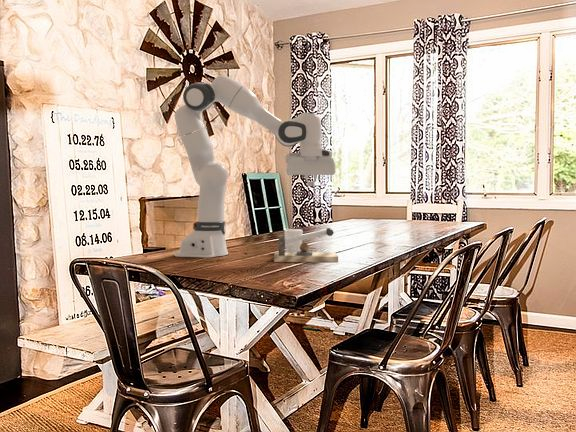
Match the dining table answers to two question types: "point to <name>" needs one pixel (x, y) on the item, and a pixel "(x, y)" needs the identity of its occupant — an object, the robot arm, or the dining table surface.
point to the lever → (310, 236)
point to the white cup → (294, 245)
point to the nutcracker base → (302, 254)
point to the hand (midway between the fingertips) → (310, 186)
